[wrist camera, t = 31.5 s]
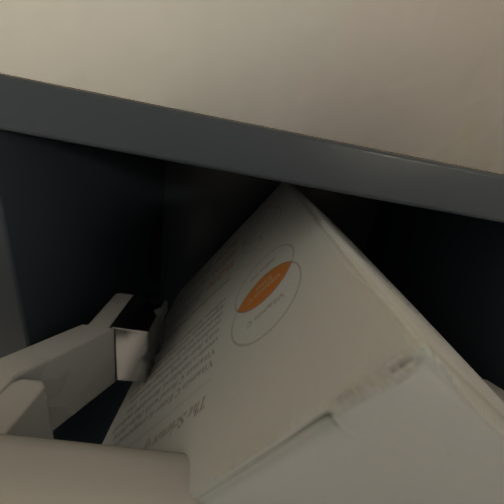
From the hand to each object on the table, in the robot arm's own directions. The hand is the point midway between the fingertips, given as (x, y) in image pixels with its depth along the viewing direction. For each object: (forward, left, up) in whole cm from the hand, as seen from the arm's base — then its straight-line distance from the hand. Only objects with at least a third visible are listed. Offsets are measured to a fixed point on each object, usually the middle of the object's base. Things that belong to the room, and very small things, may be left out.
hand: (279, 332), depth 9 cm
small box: (0, 0, -5) cm, 5 cm away
